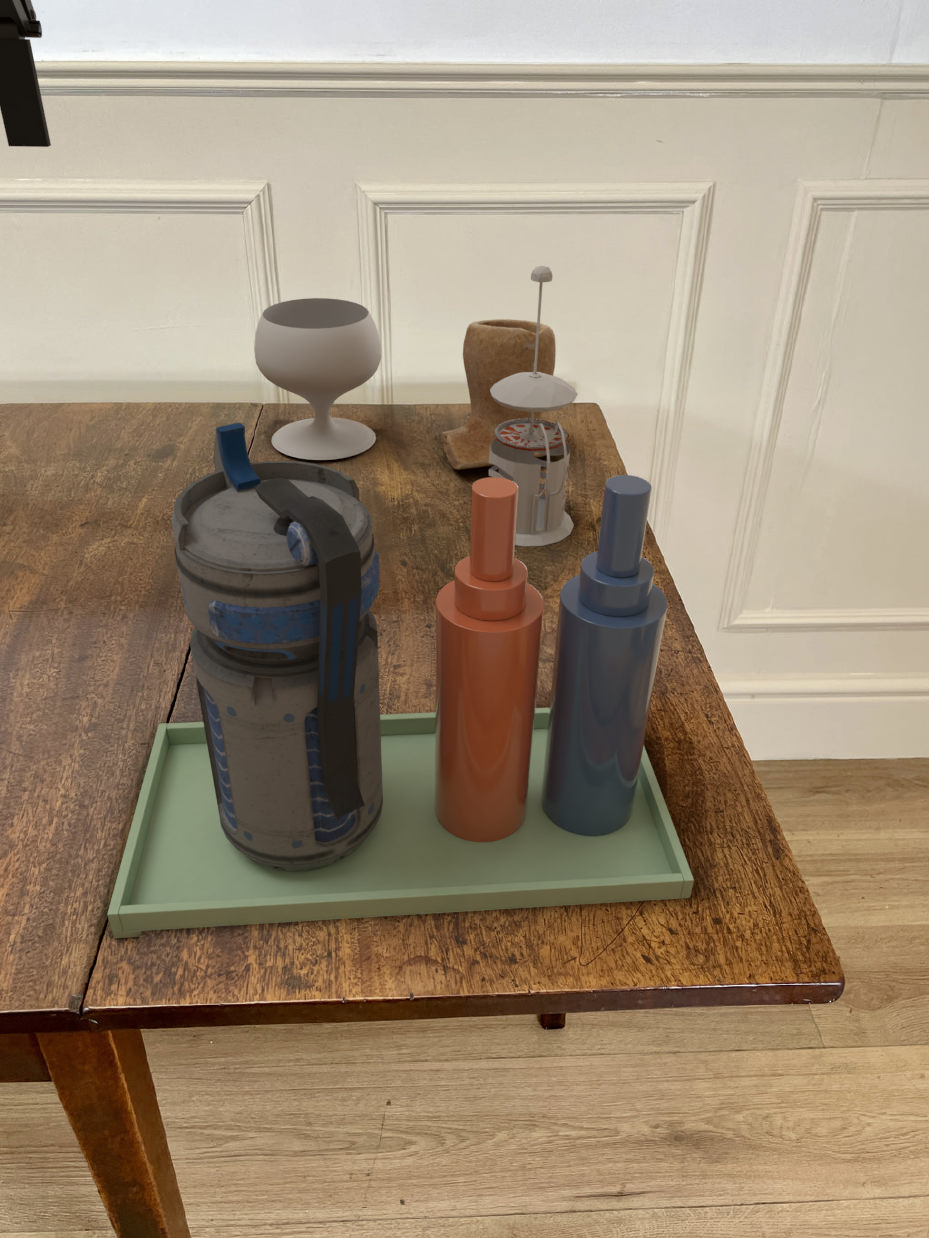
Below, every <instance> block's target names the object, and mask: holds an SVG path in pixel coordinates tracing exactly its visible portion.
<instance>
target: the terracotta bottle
mask: <svg viewBox="0 0 929 1238" xmlns="http://www.w3.org/2000/svg"><path fill="white" fill-rule="evenodd" d="M517 505H518V486H517V484H516V483H514V482H513V481H511V480H508V479H504V478H498V477H492V476H489V477H483V478H479V479H478V480H476V481H474V482H473V483H472V485H471V503H470V533H469V535H470V537H469V556H466V557H463V558H462V559H461V560H459V562H457V564H456V565H455V567H454V579H453V580H451V581H449V582H448V583H447V584H445V585H444V586H443V587H441V589H440V590H439V591H438V593H437V595H436V598H435V679H434V680H435V684H434V685H435V687H434V688H435V689H434V690H435V691H434V693H435V694H434V695H435V696H434V697H435V698H434V699H435V700H434V708H435V709H434V712H435V814H436V817H437V819H438V821H439V823H440V824H441V825H442V827H443V828H444V829H446V830H447V831H448V832H449V833H451V834H452V835H454V836H456V837H458V838H461V839H464V840H467V841H472V842H493V841H497V840H501V839H504V838H506V837H508V836H510V835H511V834H513V833H514V832H516V831H517V830H518V829H519V828H520V827H521V825H522V824H523V822H524V820H525V818H526V813H527V801H528V790H529V778H530V766H531V754H532V742H533V730H534V718H535V708H536V705H537V694H538V682H539V670H540V669H539V668H540V656H541V648H542V647H541V646H542V645H541V644H542V634H543V623H544V610H545V603H544V599H543V596H542V595H541V593H540V592H539V590H537V589H536V588H535V587H534V586H533V585H531V584H530V583H528V582H529V570H528V568H527V566H526V565H525V564H524V562H523V561H521V560H519V559H518V558H516V557H515V553H516V551H515V549H516V545H515V538H516V522H517Z"/></svg>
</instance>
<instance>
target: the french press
mask: <svg viewBox="0 0 929 1238" xmlns="http://www.w3.org/2000/svg"><path fill="white" fill-rule="evenodd" d="M530 280H531V281H533V282H535V283H539V289H538V302H537V303H538V304H537V318H536V322H537V332H536V348H535V363H534V372H522V373H517V374H514V375H511V376H509V377H506V378H504V379H502V380H500V381H499V382H497V383H495V384H494V385H493V387H492V388H491V389H490V392H491V395H492V397H493V399H494V401H496V402H497V403H499V404H500V405H502V406H504V407H507V408H511V409H514V410H519V411H527V412H531V418H529V419H527V418H526V419H524V418H523V419H515V420H514V419H512V420H510V421H506V422H504V423H502V424H499V425H498V426H497V427H496V428H495V430H494V431H493V432H494V434H495V437H496V438H495V439H493V441H492V443H491V444H490V453H489V463H491V464H494V465H492V466H491V467H490V468H489V469H488V476H489V477H498V478H504V479H508V480H511V481H513V482H514V483H516V484H517V486H518V505H517V522H516V538H515V546H519V547H544V546H547V545H548V546H549V545H552V544H554V543H558V542H559V543H560V542H561V541H563V540H564V539H565V538H567V537H569V535H571V533H572V532H573V528H574V522H573V520H572V518H571V516H570V514H568V513H567V511H566V510H565V508H566V500H567V488H568V477H569V466H570V455H571V447H570V445H569V443H568V441H567V440H568V438H569V433H568V431H567V429H566V428H565V427H563V426H562V424H561V422H560V421H556V422H553V421H550V420H547V419H545V420H544V419H542V420H540V419H539V420H537V419H534V412H542V413H548V412H549V413H550V412H555V411H560V410H563V409H564V408H566V407H568V406H570V405H572V403H574V402H575V401H576V399H577V397H578V395H579V394H578V392H577V391H576V389H575V387H573V386H572V385H571V384H569V383H568V382H567V381H566V380H565V379H563V378H561V377H558V376H555V375H553V376H552V375H548V374H545V373H541V372H537V358H538V343H539V328H540V323H541V313H542V311H541V310H542V297H543V284H544V283H550V282H552V281H553V272H552V270H551V268H550V267H549V266H545V265H539V266H535V267H534V268H533V269H532V271H531V273H530ZM566 441H567V442H566ZM535 452H537V453H540V454H544V455H546V460H543V459H540V458H539V457H537V458H535V457H534V454H535ZM551 456H552V457H556V456H557V457H558V456H563V458H561V459H559V460H556V461H552V460H551ZM542 468H546V472H543V471H541V469H542ZM497 470H498V471H497ZM541 479H544V480H545V481H544V483H541ZM540 490H541V492H540Z"/></svg>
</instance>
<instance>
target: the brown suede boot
mask: <svg viewBox="0 0 929 1238" xmlns="http://www.w3.org/2000/svg"><path fill="white" fill-rule="evenodd" d="M536 332H537V321H530V320H523V319H510V318H509V319H508V318H507V319H504V318H503V319H501V318H499V319H498V318H497V319H485V320H484V319H482V320H477V321H473V322H470V323H469V324H468V326H467V328H466V331H465V334H464V339H463V346H462V359H463V367H464V373H465V377H466V383H467V388H468V395H469V400H470V411H471V412H470V413H469V414H470V415H469V418H468V420H467V422H465V423H464V424H463V425H461V426H460V427H458V428H455V429H451V430H446V431H443V432H441V433H440V436H439V439H440V442H441V443H442V445H443V452H444V453H445V455H446V458H447V461H448V463H449V465H450V466H451V468H453V470H457V471H460V470H467V469H468V470H469V469H477V468H482V467H493V466H494V464H491V463H489V453H490V444H491V443H492V441H493V439H495V438H496V437H495V434H494V432H493V431H494V430H495V428H496V427H497V426H498V425H499V424H502V423H504V422H506V421H510V420H512V419H514V420H515V419H523V418H524V419H526V418H527V419H529V418H531V412H527V411H519V410H514V409H511V408H507V407H504V406H502V405H500V404H499V403H497V402H496V401H494V399H493V397H492V395H491V392H490V389H491V388H492V387H493V385H494V384H495V383H497V382H499V381H500V380H502V379H504V378H506V377H509V376H511V375H514V374H517V373H522V372H534V363H535V348H536ZM556 346H557V345H556V336H555V333H554V330H553V329H552V328H551V327H550V326H549V325H547V324H544V323H541V322H540V328H539V343H538V358H537V372H541V373H545V374H548V375H552V376H554V374H555V368H556V355H557V354H556V353H557V351H556V350H557V349H556ZM542 415H543V412H534V419H537V420H539V419H540V420H543V416H542ZM566 442H567V443H568V441H566ZM545 456H546V457H547V455H544V454H540V453H537V452H535V454H534V457H535V458H542V457H545Z"/></svg>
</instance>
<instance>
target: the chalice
mask: <svg viewBox="0 0 929 1238" xmlns="http://www.w3.org/2000/svg"><path fill="white" fill-rule="evenodd" d="M375 322H376V321H375V320H374V317H373V316H372V314H371V312H370V311H369V309H368V308H366V307H365V306H364V305H362V304H359V303H357V302H354V301H349V300H345V299H338V298H327V297H326V298H325V297H323V298H322V297H312V298H310V297H309V298H299V299H291V300H286V301H282V302H278V303H275V304H272V305H270V306H268V307H266V308H265V309H264V310H263V312H262V313H261V315H260V318H259V320H258V323H257V326H256V330H255V334H254V347H253V350H254V352H253V353H254V358H255V363H256V366H257V368H258V370H259V372H260V373H261V374H262V376H264V378H265V379H266V380H267V381H269V382H270V383H272V384H273V385H275V386H276V387H278V388H280V389H283V390H284V391H287V392H289V393H292V394H294V395H296V396H299V397H301V398H303V399H304V400H305V401H306V402H308V403H309V405H310V406H311V407H312V409H313V412H314V417H311V418H304V419H300V420H296V421H293V422H290V423H288V424H286V425H285V424H284V426H282V427H280V428H279V429H277V431H276V432H274V433H273V435H272V436H271V444H272V446H273V447H274V449H276V450H277V451H278V452H280V453H282V454H284V455H285V456H290V457H293V458H297V459H301V460H310V461H329V460H338V459H339V460H340V459H344V458H350V457H352V456H356V455H359V454H362V453H363V452H365V451H367V450H369V449H370V448H371V447H372V446H373V445H374V444H375V443H376V440H377V436H376V433H375V432H374V431H373V429H372V428H370V427H369V426H367V425H366V424H364V423H362V422H359V421H357V420H353V419H349V418H342V417H332V416H331V410H332V407H333V405H334V403H335V401H337V399H339V398H340V397H341V396H343V395H345V394H347V393H349V392H350V391H353V390H354V389H357V388H358V387H360V386H362V385H364V384H365V383H366V382H368V381H369V380H370V379H371V378H372V377H373V376H375V374H376V372H377V371H378V369H379V365H380V363H381V360H382V344H381V339H380V334H379V330H378V328H377V325H376V323H375Z"/></svg>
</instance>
